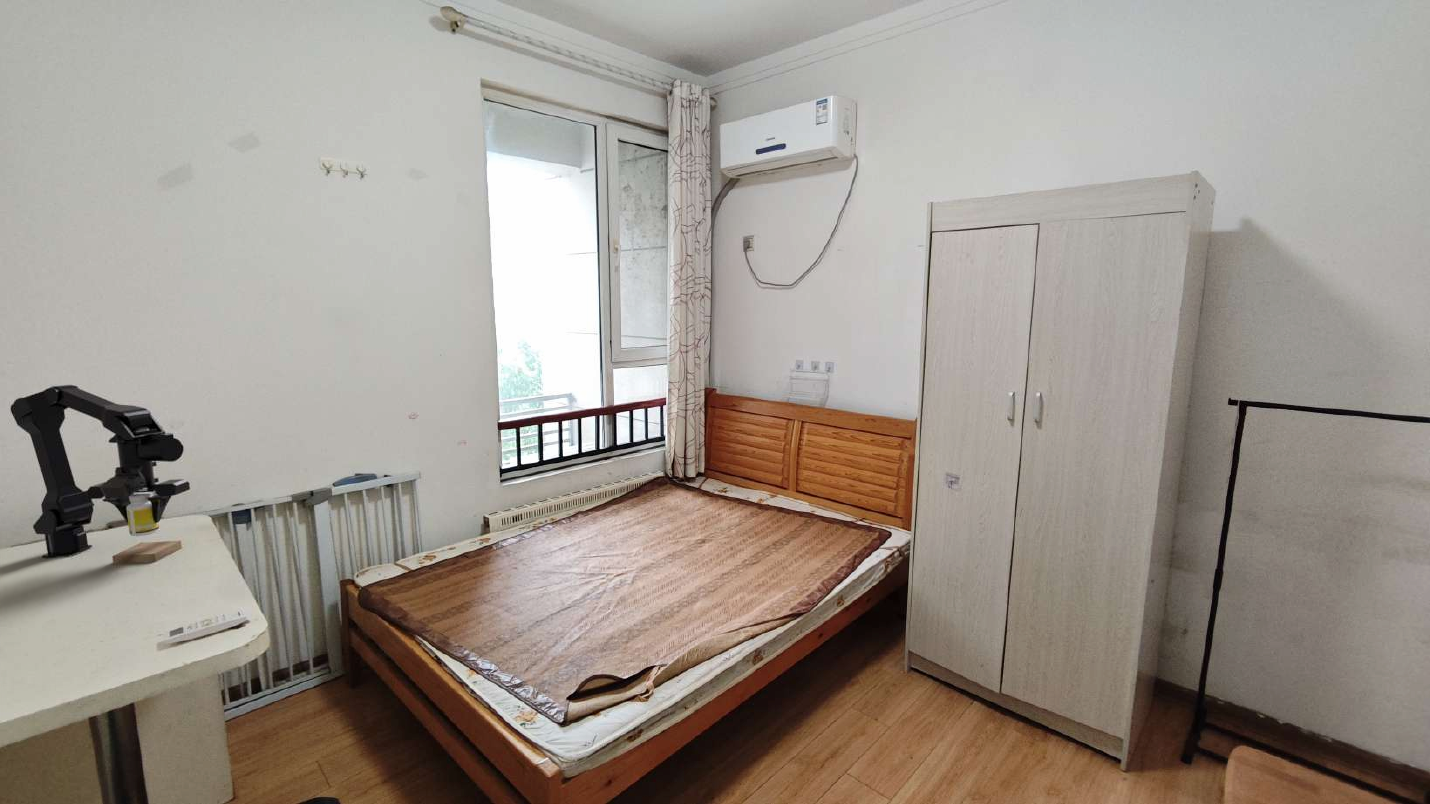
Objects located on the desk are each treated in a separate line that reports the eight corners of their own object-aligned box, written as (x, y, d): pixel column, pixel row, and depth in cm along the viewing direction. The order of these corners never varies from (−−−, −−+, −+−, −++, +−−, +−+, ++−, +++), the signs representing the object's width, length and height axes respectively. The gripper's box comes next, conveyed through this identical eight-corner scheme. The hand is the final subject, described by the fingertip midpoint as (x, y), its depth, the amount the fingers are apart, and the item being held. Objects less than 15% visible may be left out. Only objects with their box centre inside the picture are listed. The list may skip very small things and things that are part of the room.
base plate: (113, 564, 147) (112, 556, 147) (141, 550, 156) (140, 542, 156) (155, 561, 148) (154, 553, 148) (181, 548, 157) (180, 540, 157)
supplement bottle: (165, 529, 154) (161, 491, 152) (143, 537, 148) (138, 497, 147) (146, 528, 154) (141, 490, 153) (123, 536, 149) (118, 497, 148)
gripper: (61, 470, 140) (71, 536, 142) (154, 466, 142) (162, 532, 144) (102, 459, 150) (110, 520, 153) (187, 456, 153) (194, 517, 155)
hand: (143, 523), depth 151 cm, fingers closed on supplement bottle, 5 cm apart
